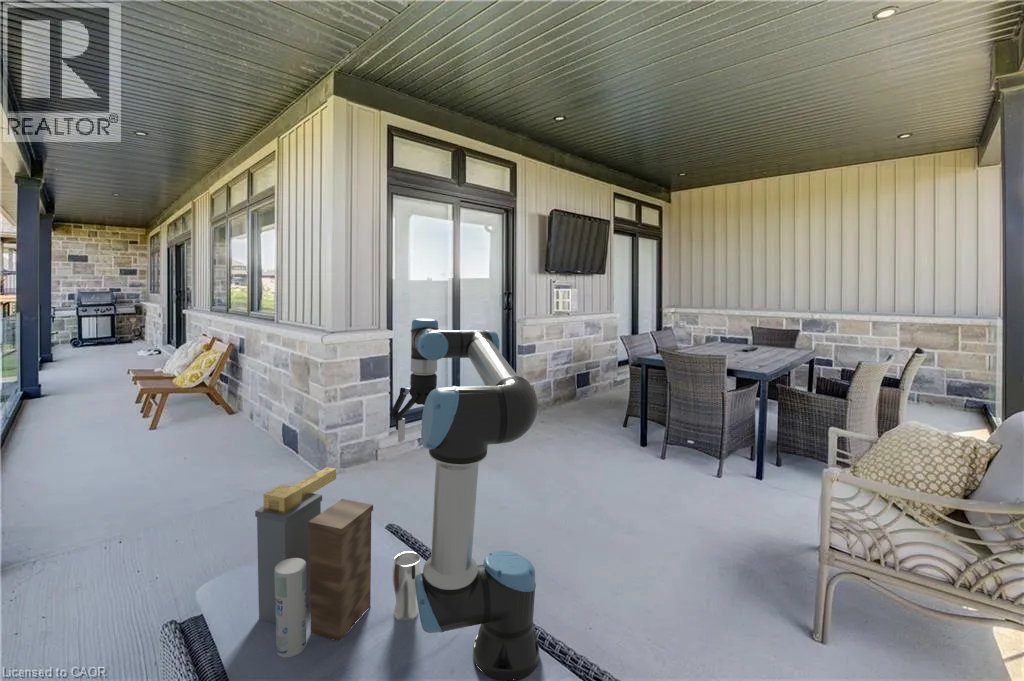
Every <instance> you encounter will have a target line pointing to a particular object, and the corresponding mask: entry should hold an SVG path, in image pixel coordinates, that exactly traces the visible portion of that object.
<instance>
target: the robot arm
mask: <svg viewBox="0 0 1024 681" xmlns="http://www.w3.org/2000/svg"><path fill="white" fill-rule="evenodd" d="M410 335H411V336H410V339H411V340H410V347H411V348H410V349H411V352H410V372H411V373H410V382H409V383H410V384H409V385H410V387H408V386H407V385H405V386H402V387H400V388H399V394H398V397H397V399H396V401H395V402H394V405H393V407H392V409H391V411H390V413H389V416H390V418H393V419H395V430H396V431H397V443H402V442H403V441H405V439H406V438H405V435H406V418H404V416H405V415H406V414H407V413H408V412H409V410H410V409H411V408H413V406H414V405H415V404H416V405H422V406H423V410H422V416H421V430H420V434H421V435H420V436H421V443H422V446H423V447H424V448H425V449H428V455H429V457H431V459H433V460H434V461H435V470H434V471H435V473H434V474H435V475H434V492H433V493H434V494H433V495H434V497H433V512H432V514H433V515H432V530H431V531H432V532H431V533H432V534H431V549H430V550H431V552H430V553H431V554H430V557H429V558H428V559H427V560H426V562H425V563H424V565H423V569H422V572H421V573H420V574H418V575H416V576H415V588H416V596H417V606H418V615H419V621H420V624H421V627H422V630H423V631H424V632H426V633H428V634H436V633H445V632H448V631H453V630H458V629H463V628H469V627H472V626H477V625H480V627H479V629H478V633H477V635H476V637H475V639H474V641H473V647H472V648H473V649H472V650H473V651H472V659H473V662H474V664H475V663H476V664H477V666H478V667H479V668H480V669H481V670H482V671H483V672H484V673H485V674H484V675H485V676H486V675H487V677H489V678H491V679H494V680H496V681H497V680H498V681H501V680H502V681H503V680H513V679H518V680H521V679H524V678H525V677H528V676H529V675H530V674H532V673H533V672H534V671H535V669H536V668H537V666H538V664H539V660H540V646H539V644H540V643H539V640H538V638H537V634H536V630H535V628H534V614H535V613H534V612H535V598H536V597H535V596H536V594H535V592H536V588H537V582H536V571H535V566H534V565H533V563H532V562H531V560H529V559H528V558H527V557H526V556H524V555H521V554H519V553H516V552H513V551H510V550H495V551H492V552H490V553H489V554H487V555H485V558H484V559H483V564H477V562H476V561H475V559H474V558H472V557H473V544H474V543H473V542H474V531H475V530H474V529H475V517H476V516H475V515H476V503H477V502H476V501H477V491H478V490H477V488H478V479H479V477H478V476H479V464H480V463H482V461H484V460H485V459H486V457H487V454H488V446H489V445H497V444H498V445H500V444H506V443H511V442H513V441H516V440H518V439H520V438H521V437H523V436H524V435H525V434H526V433H527V432H528V431H529V430H530V429H531V427H533V424H534V422H535V420H536V418H537V415H538V410H539V400H538V397H537V394H536V393H537V392H536V391H535V389H534V388H533V386H532V385H531V383H530V382H529V381H528V380H527V379H526V378H525V377H522V376H520V375H518V374H517V373H516V372H515V370H514V369H513V367H512V366H511V365H510V364H509V363H508V361H507V359H506V358H505V357H504V356H503V354H502V353H501V352H500V338H499V334H498V333H497V332H496V331H494V330H486V329H478V330H477V329H475V330H474V329H471V330H470V329H468V330H467V329H466V330H465V329H463V330H460V329H459V330H458V329H457V330H456V329H455V330H454V329H452V330H451V329H440V328H439V322H438V320H437V319H434V318H415V319H412V321H411V330H410ZM441 359H469V361H470V362H471V364H472V365H473V367H474V368H475V370H476V372H477V374H478V375H479V377H480V379H481V380H482V382H483V385H471V386H470V385H469V386H467V385H465V386H464V385H463V386H456V385H450V386H446V387H437V385H438V374H437V373H436V372H438V360H441ZM407 395H410V396H411V398H410V399H409V400H408V401H407V403H406V404H405V405H404V406H403V404H404V401H405V400H406V398H407ZM402 406H403V407H402ZM401 408H402V409H401ZM477 666H476V667H477Z"/></svg>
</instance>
